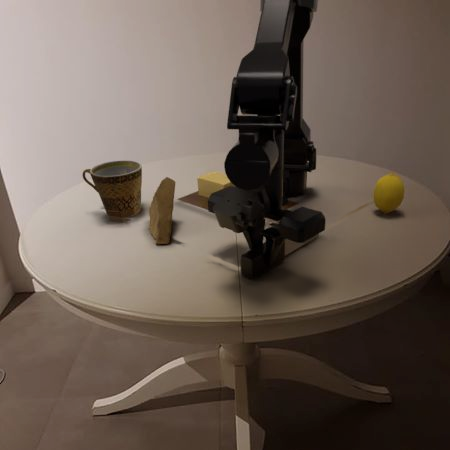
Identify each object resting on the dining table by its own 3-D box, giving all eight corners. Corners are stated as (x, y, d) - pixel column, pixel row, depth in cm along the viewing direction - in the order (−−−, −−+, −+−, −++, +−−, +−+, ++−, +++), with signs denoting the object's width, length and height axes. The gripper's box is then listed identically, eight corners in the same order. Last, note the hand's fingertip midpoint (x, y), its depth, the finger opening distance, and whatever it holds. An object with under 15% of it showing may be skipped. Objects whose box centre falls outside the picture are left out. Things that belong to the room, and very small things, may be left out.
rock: (179, 237, 81) (200, 208, 88) (145, 199, 78) (169, 173, 85) (143, 261, 88) (165, 233, 95) (110, 228, 85) (135, 201, 92)
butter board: (222, 185, 109) (222, 181, 109) (298, 207, 96) (299, 203, 95) (177, 203, 101) (176, 199, 101) (253, 230, 88) (253, 225, 87)
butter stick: (214, 188, 105) (213, 171, 103) (241, 196, 100) (240, 178, 98) (198, 195, 102) (197, 177, 100) (224, 203, 97) (223, 184, 95)
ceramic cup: (156, 208, 99) (150, 161, 94) (134, 228, 91) (125, 177, 86) (103, 203, 103) (94, 158, 98) (77, 222, 95) (66, 173, 90)
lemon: (367, 209, 94) (372, 169, 89) (394, 207, 94) (400, 167, 89) (376, 220, 89) (382, 179, 85) (405, 217, 89) (412, 176, 85)
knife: (252, 280, 72) (251, 260, 70) (241, 275, 74) (240, 255, 72) (323, 236, 83) (324, 218, 81) (312, 232, 84) (313, 214, 83)
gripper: (176, 167, 67) (187, 262, 76) (278, 196, 56) (276, 304, 64) (230, 149, 74) (234, 239, 82) (331, 172, 62) (323, 273, 71)
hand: (263, 262), depth 75 cm, fingers closed on knife, 2 cm apart
